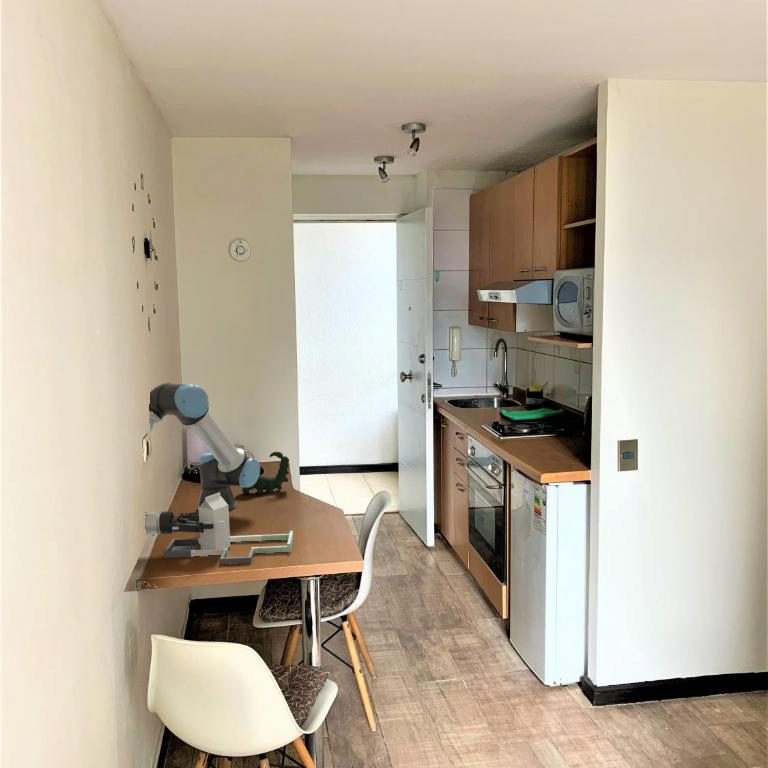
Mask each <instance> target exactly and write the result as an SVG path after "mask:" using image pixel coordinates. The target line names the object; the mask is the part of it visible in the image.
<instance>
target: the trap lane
mask: <svg viewBox="0 0 768 768" xmlns="http://www.w3.org/2000/svg"><path fill="white" fill-rule="evenodd" d="M261 540H281V541H287V544H286V545H277V546H276V545H275V546H256V547H255V546H253V547H252V546H251V548H250V550H249V553H248V554H249V556H248V557H227V558H226V556H227V554H228V555H229V551H228V549H229V548H226V549H204V550H201V549H197V548H198V546H197V545H201V542H200V537H188V538H187V537H185V538H182V537H181V538H172V539H171V541H170V542H169V544H168V545H167V546H166V548H165V549H164V551H163V552H162V553H163V559H173V558H176V559H177V558H194V556H200V557H209V556H208V555H221V556H220V557H219V565H220V564H228V565H230V564H229V563H250V564H252V563H253V560H254V557H255V554H254V553H266V554H275V553H274V552H288V553H291V552H292V548H293V542H294V530H289V533H279V534H278V533H277V534H276V533H275V534H253V535H251V534H250V535H230V542H236V543H242V542H241V541H259V542H262V541H261ZM196 547H197V548H196ZM253 556H254V557H253ZM252 559H253V560H252ZM251 562H252V563H251Z"/></svg>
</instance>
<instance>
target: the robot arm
mask: <svg viewBox="0 0 768 768" xmlns="http://www.w3.org/2000/svg"><path fill="white" fill-rule="evenodd" d="M150 391H151V392H150ZM150 391H149V392H150V404H149V417H150V418H149V420H150V421H149V423H150V433H151V434H152V432H153V430H154V429H155V427H156V425H157V424H161V422H162V420H163V419H164V418H165V416H173V417H176V419H178V421H179V422H180V423H181V425H183V426H185V427H189V428H190V429H191V430H192V431H193V433H194V434H195V435H196V436H197V438H198V439H199V440H200V441H201V443H202V444H204V446H205V447H206V449H207V450H208V451H209V452H205V453H203V454H201V455H200V456H199V475H200V476H199V477H200V488H201V489H200V490H201V491H200V495H199V498H198V503H197V510H198V511H193V512H181V513H180V514H179V515H177V516H176V515H174V512H173V511H170V510H169V511H161V512H160V511H148V512H145V513H147V514H146V515H145V516H146V518H145V529H146V533H147V534H146V535H151V537H154V536H155V535H160V534H161V535H169V534H170V535H172V534H173V533H175V532H177V533H178V532H181V533H183V532H184V533H197V534H198V533H199V534H200V532H201V533H204V530H218V529H224V521H206V522H204V524H203V523H201V522H199V507H200V506H201V505H202V504H203V503H204V501H205V497H208V496H211V495H214V494H217V493H220V496H221V497H222V498H223V499H224V501H225V502H226V503H227V504H228V511H231V510H233V509H235V508H237V507H236V506H237V504H236V499H235V498H236V497H235V496H234V494H233V491H232V488H231V487H232V486H233V487H238V488H239V487H240V488H241V487H242V488H243V487H251V486H253V485H254V484H255V483H256V481H257V480H258V477H259V475H261V474H260V473H261V472H260V471H261V465H260V462H259V460H258V459H256V458H254V457H249V456H248V455H247V454H246V453H245V451H244V450H243V449H242V448H238V447H236V446H235V444H233V442H232V441H231V440H230V438H229V437H228V435H226V433H225V432H224V431H223V429H222V428H221V426H220V425H219V424H218V423H217V421H216V420H215V419H214V418H213V416H212V415H211V414H210V412H209V409H210V401H208V400H209V396H208V394H207V392H206V391H205V389H203V388H202V387H201V386H199V385H196V384H195V385H194V384H191V383H169V382H168V383H167V382H166V383H161V384H159V385H157V386H155V387H154V388H153V389H151V390H150ZM152 412H153V413H152ZM242 488H241V489H242ZM146 535H145V536H146Z"/></svg>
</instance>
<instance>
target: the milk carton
mask: <svg viewBox="0 0 768 768" xmlns="http://www.w3.org/2000/svg"><path fill="white" fill-rule="evenodd" d="M229 511H230V510H228V504H227V503H226V502H225V501H224V499H223V498H222V497H221V496H220V493H217V494H214V495H211V496H208V497H205V501H204V503H203V504H202V505H201V506H200V507H199V510H198V512H199V521H198V522H201V523H203V524H204V522H206V521H224V529H218V530H204V533H201V532H200V533H199V538H200V542H201V544H200V550H204V549H226V548H228V549H229V548H231V543H230V536H231V534H230V533H231V532H230V530H231V529H230V512H229Z"/></svg>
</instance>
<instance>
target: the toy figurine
mask: <svg viewBox="0 0 768 768" xmlns="http://www.w3.org/2000/svg"><path fill="white" fill-rule="evenodd" d="M272 457H276V458H278V459H280V462H279V468H278V470H277V473H276V475H275V476H273V477H271V476H267V477H266V476H265V475H263V474H259V477H258V480H257V481H256V483H255V484H254V485H253V486H251V487H243V488H242V487H240V488H241V493H242V494H243V495H248V494H249V493H250V491H252V490H253V491H254V490H256V491H257V493H258V494H262V493H263V492H264V491H266V492H268V494H272V493H273V491H274V490H276V489H277V490H279V491H280V490H282V487H283V486H282V485H283V483H288V482H289V478H288V477H287V475H289V474H290V472H289V469H288V468H290V465H289V462H290V459H289V457H288V456H286V455H284V454H283V453H282V452H281V451H273V452H271V453H270V455H269V458H272Z"/></svg>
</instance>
